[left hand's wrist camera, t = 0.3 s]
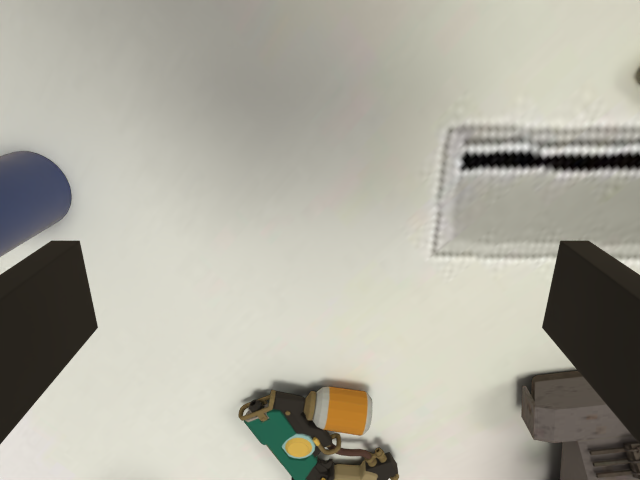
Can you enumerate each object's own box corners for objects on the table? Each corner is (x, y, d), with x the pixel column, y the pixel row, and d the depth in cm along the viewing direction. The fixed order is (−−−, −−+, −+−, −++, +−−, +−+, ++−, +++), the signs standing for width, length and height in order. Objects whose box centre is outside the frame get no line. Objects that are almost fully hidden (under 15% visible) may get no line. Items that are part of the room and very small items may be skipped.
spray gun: (398, 473, 53) (275, 487, 55) (378, 363, 46) (237, 383, 48) (404, 508, 49) (271, 522, 51) (383, 394, 42) (229, 415, 44)
